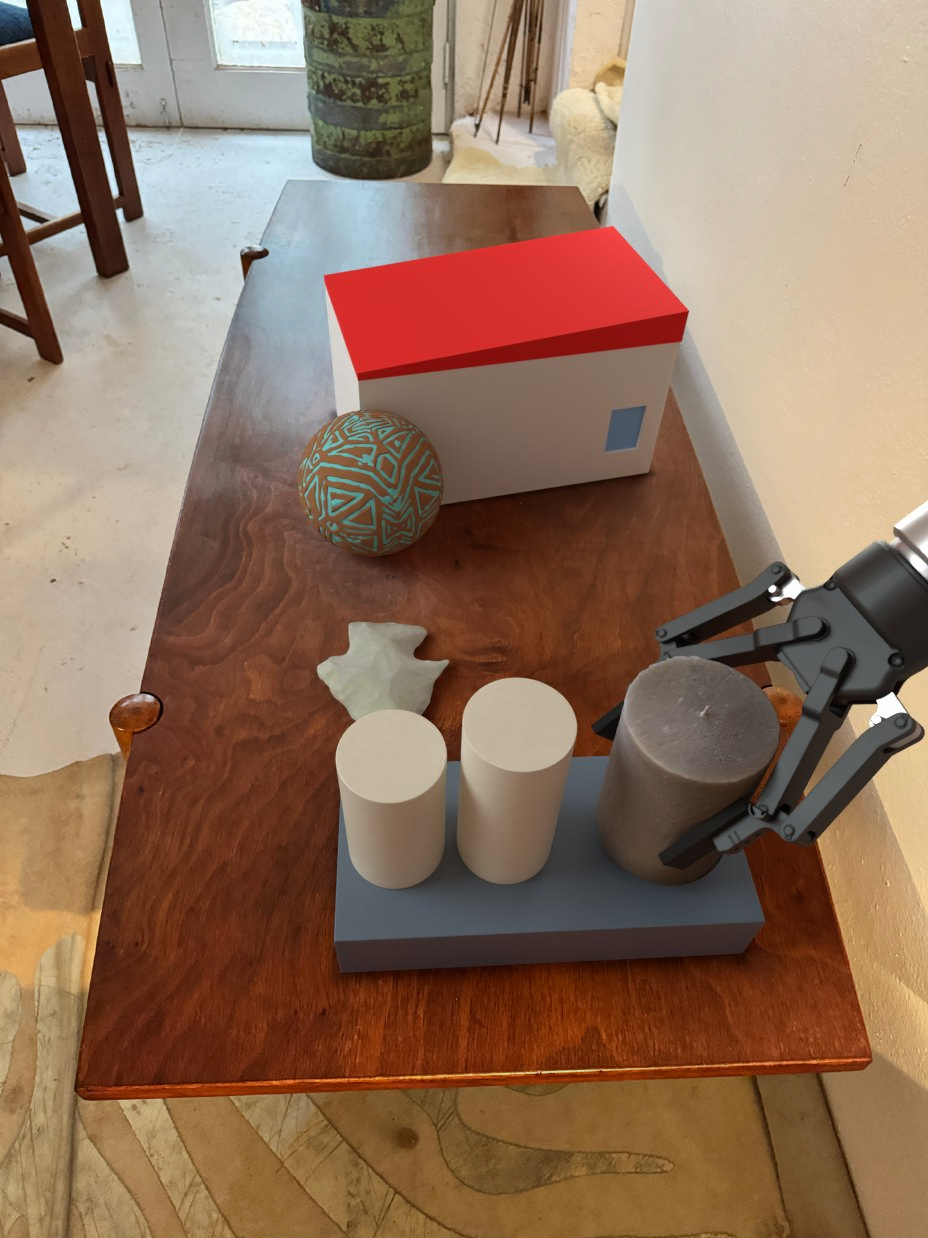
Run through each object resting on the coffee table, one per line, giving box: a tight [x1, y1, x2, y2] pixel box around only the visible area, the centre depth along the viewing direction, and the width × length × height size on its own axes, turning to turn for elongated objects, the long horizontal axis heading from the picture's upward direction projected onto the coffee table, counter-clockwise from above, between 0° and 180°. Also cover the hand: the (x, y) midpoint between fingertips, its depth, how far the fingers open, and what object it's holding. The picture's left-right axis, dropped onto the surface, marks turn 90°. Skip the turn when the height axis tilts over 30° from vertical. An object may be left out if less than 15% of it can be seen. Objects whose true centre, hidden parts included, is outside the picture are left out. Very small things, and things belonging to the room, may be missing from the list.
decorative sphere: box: [297, 410, 444, 557], centre depth 87 cm, size 15×15×15 cm
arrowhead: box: [316, 621, 450, 722], centre depth 78 cm, size 12×3×15 cm
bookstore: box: [323, 225, 690, 506], centre depth 98 cm, size 21×35×21 cm, turn 105°
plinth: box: [333, 755, 766, 974], centre depth 65 cm, size 30×14×6 cm, turn 93°
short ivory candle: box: [335, 709, 448, 889], centre depth 58 cm, size 7×7×12 cm
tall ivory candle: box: [457, 677, 578, 884], centre depth 57 cm, size 7×7×15 cm
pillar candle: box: [595, 656, 782, 886], centre depth 57 cm, size 10×10×15 cm
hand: (635, 794), depth 57 cm, fingers closed on pillar candle, 10 cm apart
